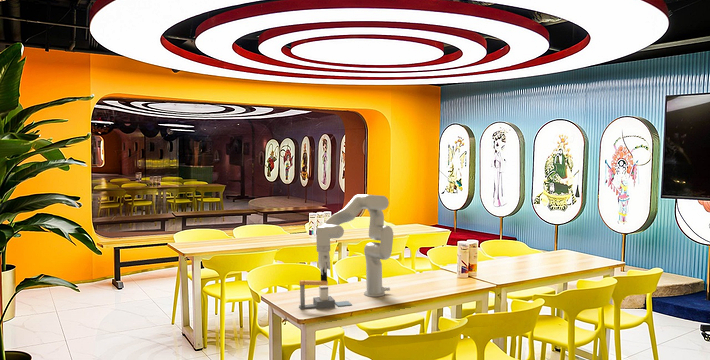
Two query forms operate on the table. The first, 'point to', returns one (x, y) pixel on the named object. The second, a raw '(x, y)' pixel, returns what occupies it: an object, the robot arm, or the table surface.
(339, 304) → the pad
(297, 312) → the table surface
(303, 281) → the latch bar
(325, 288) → the plug
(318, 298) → the socket block
